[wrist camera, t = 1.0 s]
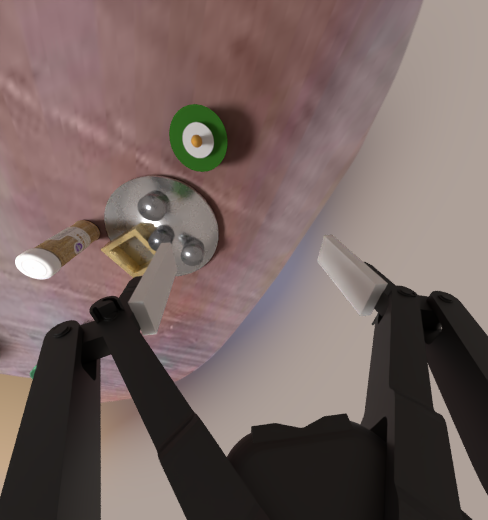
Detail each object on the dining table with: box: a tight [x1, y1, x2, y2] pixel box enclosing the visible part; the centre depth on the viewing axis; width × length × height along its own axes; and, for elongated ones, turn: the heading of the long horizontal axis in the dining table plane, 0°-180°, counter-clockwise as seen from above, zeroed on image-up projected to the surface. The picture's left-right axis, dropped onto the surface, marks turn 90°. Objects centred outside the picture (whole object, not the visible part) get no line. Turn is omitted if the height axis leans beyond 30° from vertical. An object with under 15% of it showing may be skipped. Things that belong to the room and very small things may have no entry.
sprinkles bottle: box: [15, 220, 100, 279], centre depth 33 cm, size 5×5×14 cm
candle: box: [169, 104, 227, 172], centre depth 28 cm, size 8×8×10 cm
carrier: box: [101, 175, 218, 278], centre depth 38 cm, size 22×22×6 cm
